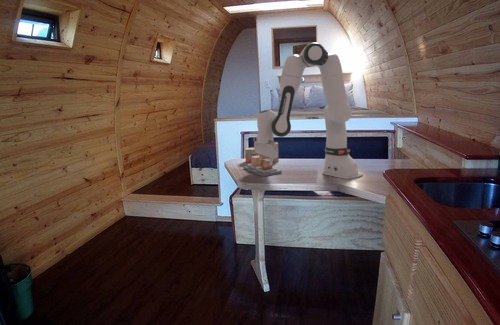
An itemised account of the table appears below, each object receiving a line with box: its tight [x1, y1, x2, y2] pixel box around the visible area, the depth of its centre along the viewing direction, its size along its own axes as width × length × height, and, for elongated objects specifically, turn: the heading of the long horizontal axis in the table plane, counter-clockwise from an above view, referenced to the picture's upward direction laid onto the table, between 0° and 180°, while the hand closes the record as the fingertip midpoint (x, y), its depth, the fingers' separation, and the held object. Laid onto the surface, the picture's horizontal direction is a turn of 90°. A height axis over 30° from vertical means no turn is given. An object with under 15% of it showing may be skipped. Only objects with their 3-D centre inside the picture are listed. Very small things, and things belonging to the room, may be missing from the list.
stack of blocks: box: [244, 141, 280, 164], centre depth 206 cm, size 21×6×12 cm, turn 95°
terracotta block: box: [260, 159, 273, 170], centre depth 179 cm, size 5×5×6 cm
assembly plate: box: [243, 156, 282, 178], centre depth 184 cm, size 22×13×8 cm, turn 29°
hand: (266, 163), depth 179 cm, fingers open, 8 cm apart
